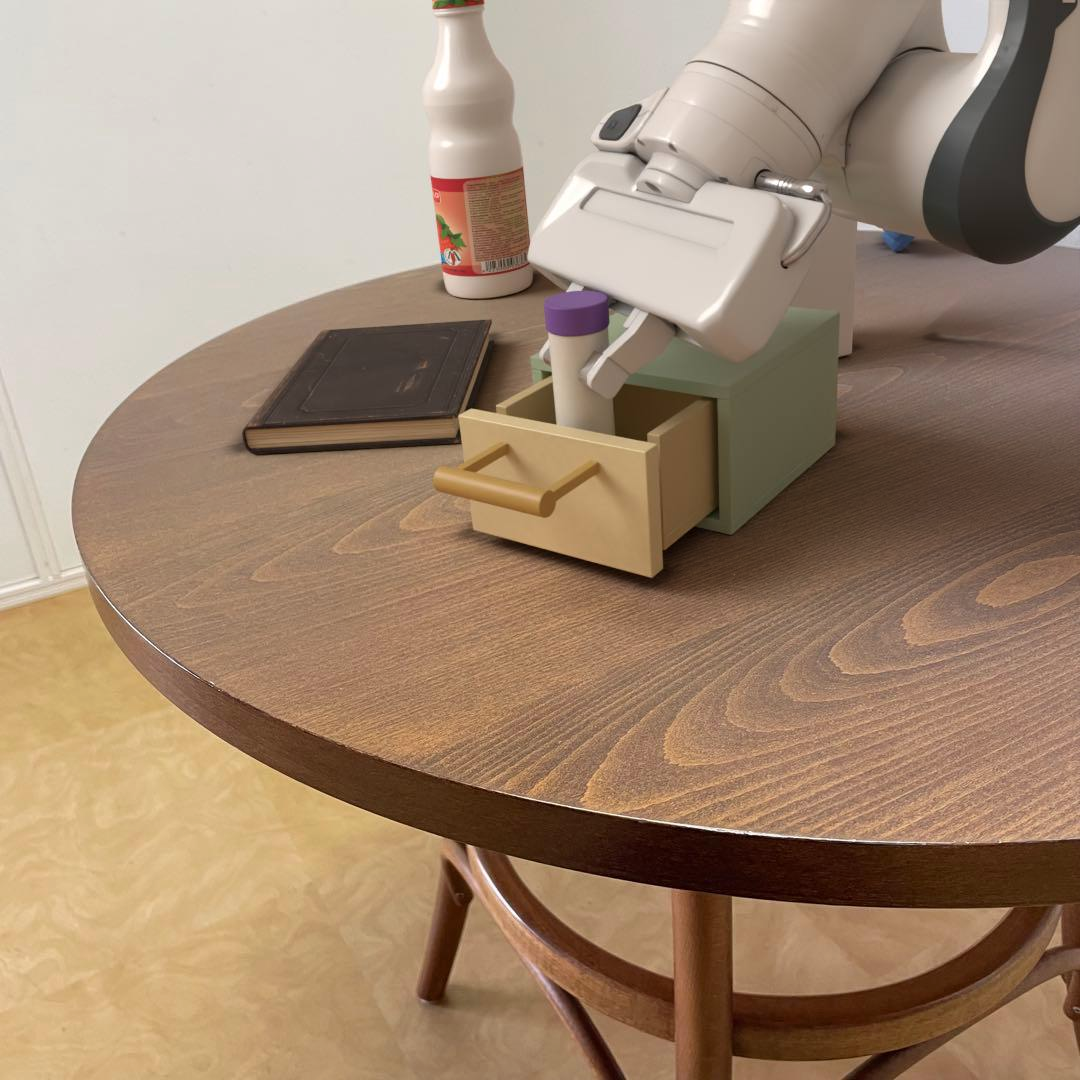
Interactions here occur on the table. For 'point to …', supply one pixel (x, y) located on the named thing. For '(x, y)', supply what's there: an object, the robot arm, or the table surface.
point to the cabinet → (754, 406)
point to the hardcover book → (375, 389)
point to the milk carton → (833, 278)
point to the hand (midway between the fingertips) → (572, 379)
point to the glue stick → (578, 358)
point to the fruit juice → (475, 160)
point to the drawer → (590, 475)
